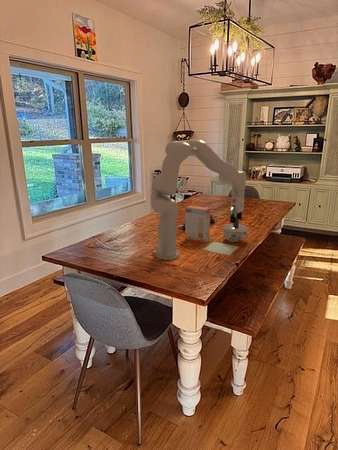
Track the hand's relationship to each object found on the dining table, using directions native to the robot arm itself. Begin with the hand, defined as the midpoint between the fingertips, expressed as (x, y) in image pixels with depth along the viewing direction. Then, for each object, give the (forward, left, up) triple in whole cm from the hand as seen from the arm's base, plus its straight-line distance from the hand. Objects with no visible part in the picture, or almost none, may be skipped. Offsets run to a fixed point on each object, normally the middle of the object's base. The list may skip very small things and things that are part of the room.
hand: (235, 221), depth 187 cm
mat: (-2, -16, -13) cm, 20 cm away
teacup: (0, 0, -13) cm, 13 cm away
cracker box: (-20, -11, -13) cm, 26 cm away
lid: (0, 0, -5) cm, 5 cm away
